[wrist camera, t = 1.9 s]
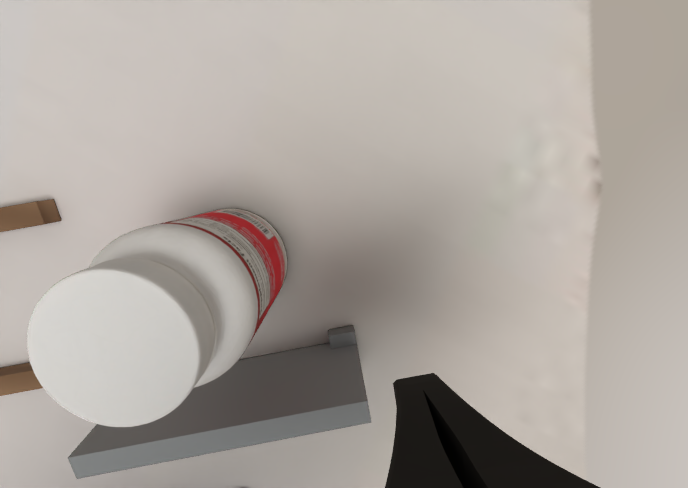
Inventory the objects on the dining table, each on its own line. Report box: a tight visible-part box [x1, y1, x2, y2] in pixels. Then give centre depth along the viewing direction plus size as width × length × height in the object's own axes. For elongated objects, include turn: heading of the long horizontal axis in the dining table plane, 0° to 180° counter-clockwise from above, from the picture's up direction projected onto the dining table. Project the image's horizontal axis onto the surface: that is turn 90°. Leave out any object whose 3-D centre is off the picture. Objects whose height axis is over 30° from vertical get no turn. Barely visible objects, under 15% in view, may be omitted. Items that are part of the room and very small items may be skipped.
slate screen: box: [68, 326, 371, 479], centre depth 19 cm, size 3×14×6 cm, turn 99°
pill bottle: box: [27, 209, 287, 427], centre depth 15 cm, size 6×6×11 cm
